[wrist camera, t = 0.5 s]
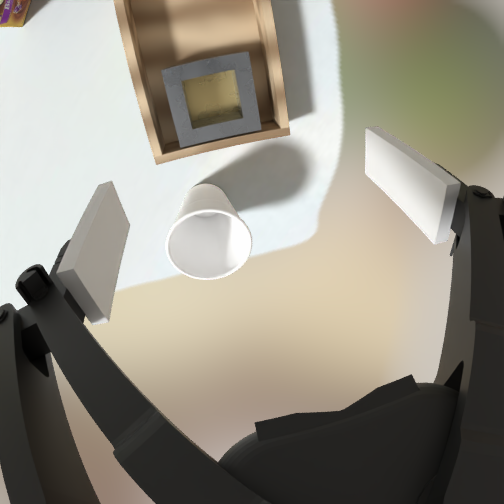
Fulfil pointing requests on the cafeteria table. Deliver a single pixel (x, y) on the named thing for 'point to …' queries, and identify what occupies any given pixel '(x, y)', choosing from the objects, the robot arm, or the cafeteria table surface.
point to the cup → (208, 235)
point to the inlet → (212, 98)
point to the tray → (195, 48)
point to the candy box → (13, 12)
